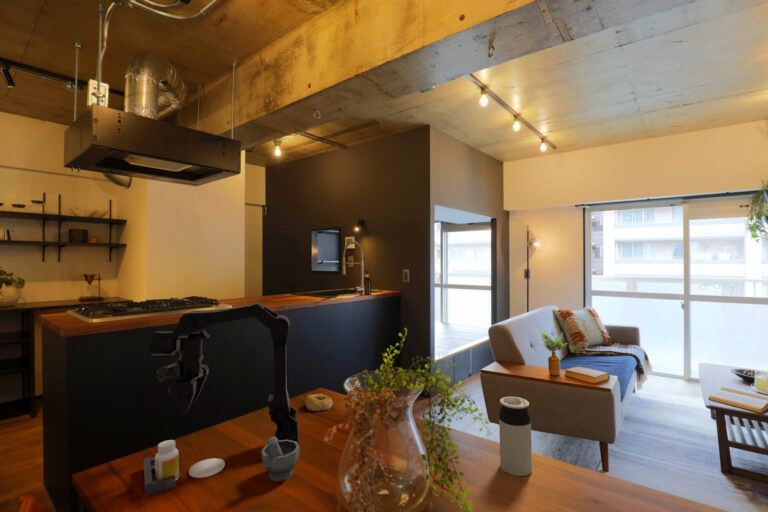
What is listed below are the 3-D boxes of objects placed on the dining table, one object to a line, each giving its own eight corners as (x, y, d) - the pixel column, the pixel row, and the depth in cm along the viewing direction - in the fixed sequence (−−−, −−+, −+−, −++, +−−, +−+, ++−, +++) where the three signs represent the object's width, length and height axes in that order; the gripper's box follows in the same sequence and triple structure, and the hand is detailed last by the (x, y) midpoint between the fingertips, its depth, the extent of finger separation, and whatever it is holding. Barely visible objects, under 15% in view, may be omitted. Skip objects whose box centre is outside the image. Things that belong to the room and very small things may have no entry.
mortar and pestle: (272, 463, 106) (271, 420, 106) (304, 465, 105) (303, 421, 105) (253, 487, 95) (252, 439, 95) (288, 489, 93) (288, 441, 94)
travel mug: (499, 474, 98) (498, 405, 98) (501, 458, 106) (499, 394, 106) (532, 479, 95) (530, 408, 96) (531, 463, 103) (529, 397, 103)
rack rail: (170, 461, 108) (170, 451, 108) (175, 487, 95) (175, 475, 95) (144, 469, 104) (143, 458, 104) (145, 497, 92) (144, 484, 92)
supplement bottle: (183, 474, 101) (182, 438, 101) (170, 487, 96) (169, 448, 96) (164, 474, 101) (164, 438, 102) (150, 486, 96) (149, 448, 96)
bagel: (321, 414, 139) (321, 401, 139) (299, 409, 144) (299, 396, 144) (338, 405, 147) (338, 393, 147) (316, 401, 153) (316, 389, 153)
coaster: (227, 458, 109) (227, 456, 109) (220, 475, 100) (220, 473, 100) (194, 461, 107) (194, 460, 107) (184, 479, 99) (184, 478, 99)
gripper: (171, 347, 118) (170, 397, 118) (148, 363, 100) (146, 422, 100) (209, 346, 121) (208, 395, 120) (193, 362, 102) (191, 419, 102)
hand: (189, 407), depth 111 cm, fingers open, 9 cm apart
